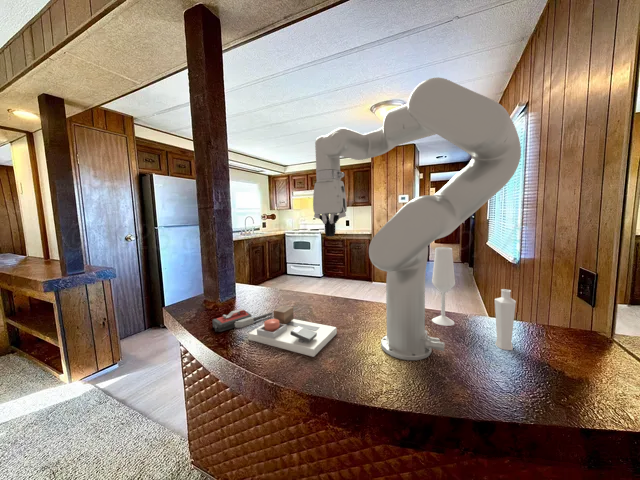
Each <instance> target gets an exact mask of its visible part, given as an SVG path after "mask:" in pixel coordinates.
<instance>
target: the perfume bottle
mask: <svg viewBox="0 0 640 480" xmlns="http://www.w3.org/2000/svg"><path fill="white" fill-rule="evenodd" d="M500 291H501V294H500V295H501V297H496V298H494V314H495V328H496V341H495V343H494V344H495V346H496V347H498V349H500V350H505V351H513V348H514V347H513V346H514V345H513V343H512V340H513V330H514V320H515V313H516V303H517V300H515V299H514V298H512V297H511V292H512V290H511V289H506V288H502V289H500Z"/></svg>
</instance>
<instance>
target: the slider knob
mask: <svg viewBox="0 0 640 480" xmlns="http://www.w3.org/2000/svg"><path fill="white" fill-rule="evenodd" d="M273 319H278V320H279V323H281V324H287V323H288V322H290V321H291V320H293V319H295V317H294V307H293V306H288V305H281V306H279V307H277V308H276V309H274V310H273Z"/></svg>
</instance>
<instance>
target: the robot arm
mask: <svg viewBox="0 0 640 480" xmlns="http://www.w3.org/2000/svg"><path fill="white" fill-rule="evenodd" d="M435 135H437V136H439V137H441V138H443V139H444V140H446V141H448V142H449V143H451V144H452V145H454V146H456V147H457V148H459V149H461V150H462V151H463V152H465V153H467V154H469V155H470V156H471V160H470V161H469V162H468V163H467V165H466V166H465V167H463V168H462V169H461V170H460V171H458V172H457V173H456V174H454V175H453V176H452V177H451V179H449V181H447V183H446V184H444V185H443V186H442V187H441V188H439V190H438V191H437V192H435V193H434V194H432V195H430V194H426V195H420V196H417V197H415V198H413V199H411V200H410V201H408V202H407V203H405V204H404V205H403V206H402V207H400V209H399V210H398V211H397V212H396V213H395V214H394V215H393V216H391V218H390V219H389V220H388V221H387V222H386V223H385V224H384V225H383V226H382V227H381V228H380V229H379V230H378V231H377V232H376V234H374V236H373V238H372V239H371V240H370V243H369V246H368V258H369V259H370V262H371V264H372V265H373V266H374V267H375V268H377V269H379V270H380V271H383V272H386V280H385V281H386V282H385V284H386V288H385V292H386V293H385V295H386V297H385V298H386V301H385V302H386V304H385V305H386V309H385V310H386V335H385V336H383V337H382V338H381V340H380V345H381V349H382V351H384V353H386V354H387V355H389V356H391V357H393V358H396V359H400V360H404V361H420V360H421V361H422V360H425V359H426V358H428V357H429V356H431V355H432V349H434V350H436V351H441V352H445V342H442V341H440V338H438V337H431V336H430V335H428V330H427V329H426V272H427V264H428V256H429V247H428V246H430V245H431V244H432V243H433V242H434V241H436V240H439V239H442V238H445V237H447V236H449V235H451V234H452V233H453V232H454V231H455V230H456V229H457V228H458V227H459V226H460V225H462V223H464V222H465V221H466V220H467V219H468V218H470V217H471V216H472V215H473V214H474V213H476V212H477V211H479V209H481V208H482V207H483V206H484V205H485V204H486V203H487V202H488V201H490V199H492V198H493V197H494V196H495V195H496V194H498V193H499V192H500V191H501V190H502V189H503V188H504V187H505V186H506V185H507V184H508V183H509V182H510V180H511V179H512V178H513V176H514V175H515V173H516V171H517V169H518V167H519V164H520V161H521V155H522V148H521V147H522V146H521V140H520V138H519V133H518V131H517V128H516V127H515V123H514V122H513V120H512V118H511V116H510V114H509V112H508V111H507V109H506V108H505V107H504V106H503V105H502V104H500V103H499V102H497V101H496V100H493V99H491V98H489V97H487V96H485V95H483V94H481V93H478V92H477V91H473V90H471V89H469V88H467V87H465V86H462V85H460V84H458V83H456V82H454V81H452V80H449V79H447V78H444V77H430V78H428V79H426V80H423V81H422V82H419V84H418V85H417V86H416V87H415V88H414V89H413V90H412V92H411V93H410V95H409V97H408V101H407V103H406V104H402V105H400V106H397V107H395V108H392V109H390V110H388V111H387V112H385V115H384V117H383V122H382V127H380V128H378V129H377V130H374V131H370V132H368V133H364V134H362V133H360V132H358V131H356V130H353V129H350V128H347V127H338V128H336V129H334V130H332V131H331V132H329V133H328V134H325V135H320V136H318V137H317V138H316V140H315V142H314V143H315V145H314V147H315V171H316V172H315V173H316V175H315V176H316V182H315V183H314V187H313V196H312V197H313V199H312V208H313V213H314V215H313V217H314V218H315V219H318V220H321V221H322V223H323V224H324V234H325V237H326V238H327V237H329V238H330V237H335V234H336V224H337V222H338V221H339V219H342V218H344V217H345V218H346V216H347V215H346V212H347V211H348V210H347V209H348V207H347V206H348V204H347V194H346V188H345V184H344V181H342V178H344V177H345V172H342V171H341V157H342V158H343V157H344V158H347V159H351V160H355V161H361V160H363V161H364V160H367V159H370V158H376V157H378V156H382V155H384V154H386V153H388V152H389V151H391V150H392V149H394V148H395V147H397V146H399V145H403V144H406V143H410V142H414V141H417V140H420V139H424V138H427V137H428V138H429V137H432V136H435Z"/></svg>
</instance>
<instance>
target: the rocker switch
mask: <svg viewBox="0 0 640 480" xmlns="http://www.w3.org/2000/svg"><path fill="white" fill-rule="evenodd" d="M290 335H292V336H295V337H297V338H299V339H302V340H304V341H306V342H311V341H312V340H313V339H314V338H315V337H316V336H317V333H316V332H314V331H311V330H309V329H306V328H304V327H301V326H297V327H296V328H295V329H293V330H292V331H291V334H290Z"/></svg>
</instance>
